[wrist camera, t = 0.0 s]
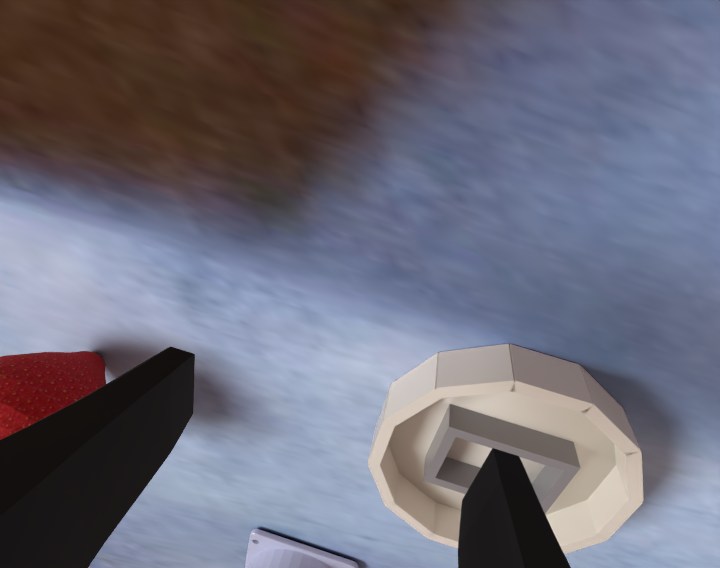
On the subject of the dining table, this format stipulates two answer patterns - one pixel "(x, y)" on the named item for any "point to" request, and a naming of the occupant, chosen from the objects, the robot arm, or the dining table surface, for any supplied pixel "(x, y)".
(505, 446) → the beige faceted bowl
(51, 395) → the strawberry
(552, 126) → the dining table surface
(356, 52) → the dining table surface
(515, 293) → the dining table surface
